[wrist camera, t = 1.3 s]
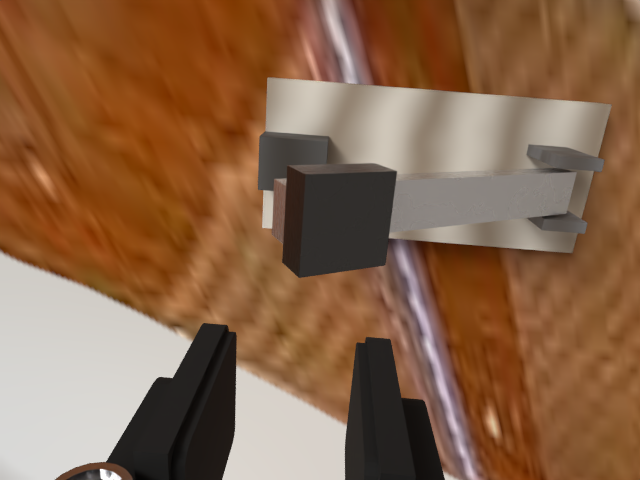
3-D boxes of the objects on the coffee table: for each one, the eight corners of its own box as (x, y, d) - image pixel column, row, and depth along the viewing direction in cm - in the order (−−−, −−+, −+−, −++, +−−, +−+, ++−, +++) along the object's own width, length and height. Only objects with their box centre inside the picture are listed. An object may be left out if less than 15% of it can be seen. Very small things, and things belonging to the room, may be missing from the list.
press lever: (561, 153, 34) (608, 163, 31) (545, 220, 36) (588, 235, 33) (274, 159, 24) (305, 174, 21) (271, 252, 26) (299, 277, 23)
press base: (598, 102, 38) (658, 110, 31) (561, 245, 42) (607, 280, 35) (271, 77, 38) (255, 79, 31) (265, 220, 42) (250, 251, 35)
